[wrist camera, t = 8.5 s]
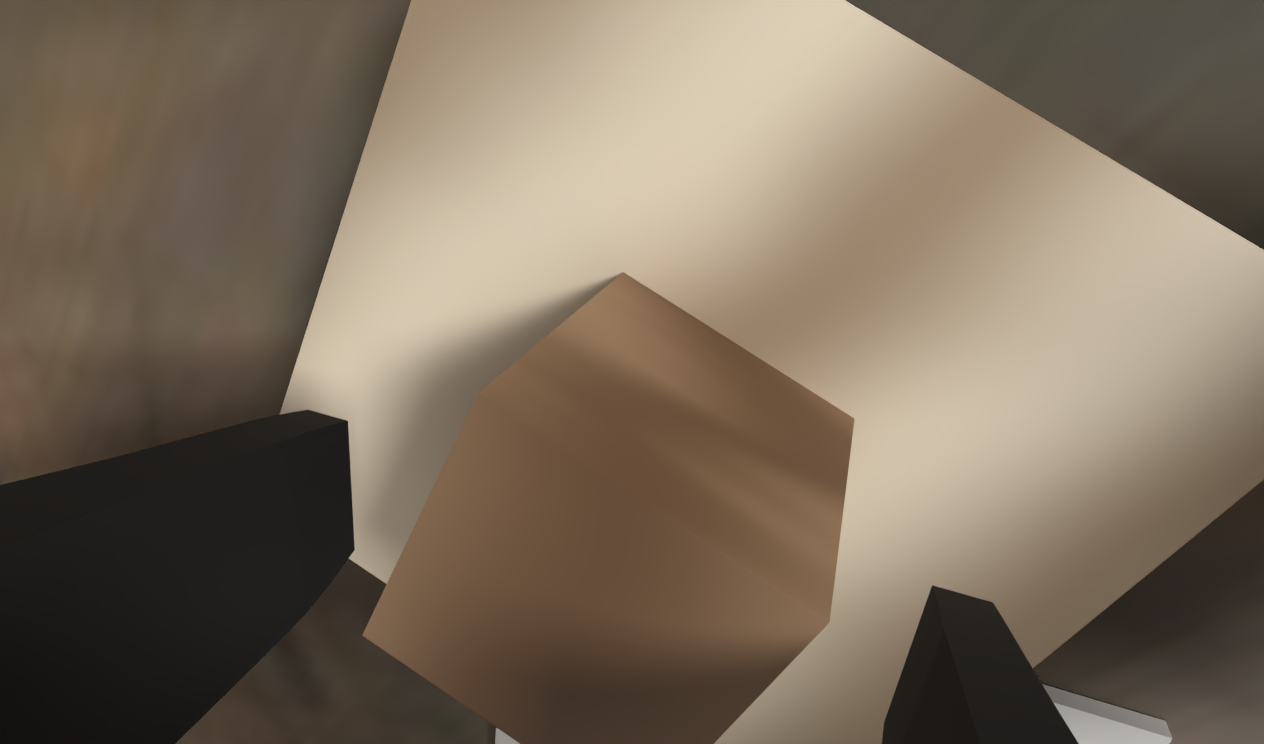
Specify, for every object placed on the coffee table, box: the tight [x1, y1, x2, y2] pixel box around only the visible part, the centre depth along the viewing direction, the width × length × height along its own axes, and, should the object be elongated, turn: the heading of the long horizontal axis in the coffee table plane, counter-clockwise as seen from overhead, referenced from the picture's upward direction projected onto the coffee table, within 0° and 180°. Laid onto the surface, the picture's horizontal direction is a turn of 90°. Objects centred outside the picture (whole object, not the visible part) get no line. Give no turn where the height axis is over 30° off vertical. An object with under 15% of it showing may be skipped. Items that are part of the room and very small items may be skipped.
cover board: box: [280, 0, 1264, 744], centre depth 11 cm, size 13×13×5 cm
